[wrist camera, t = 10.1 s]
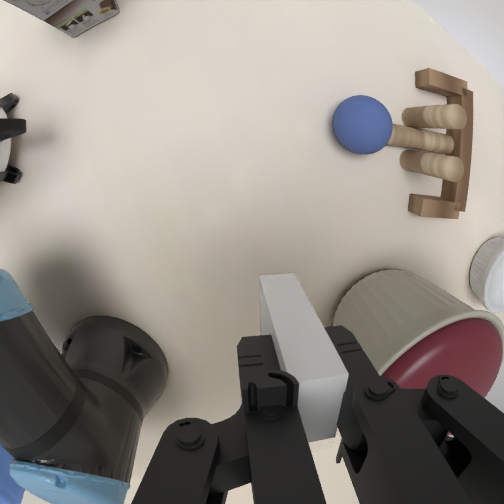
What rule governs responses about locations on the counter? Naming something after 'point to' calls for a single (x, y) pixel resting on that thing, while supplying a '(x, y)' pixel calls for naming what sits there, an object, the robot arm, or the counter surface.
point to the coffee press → (9, 138)
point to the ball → (362, 124)
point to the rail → (453, 191)
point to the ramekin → (489, 274)
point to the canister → (421, 331)
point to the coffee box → (69, 13)
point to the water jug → (8, 481)
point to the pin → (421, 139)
